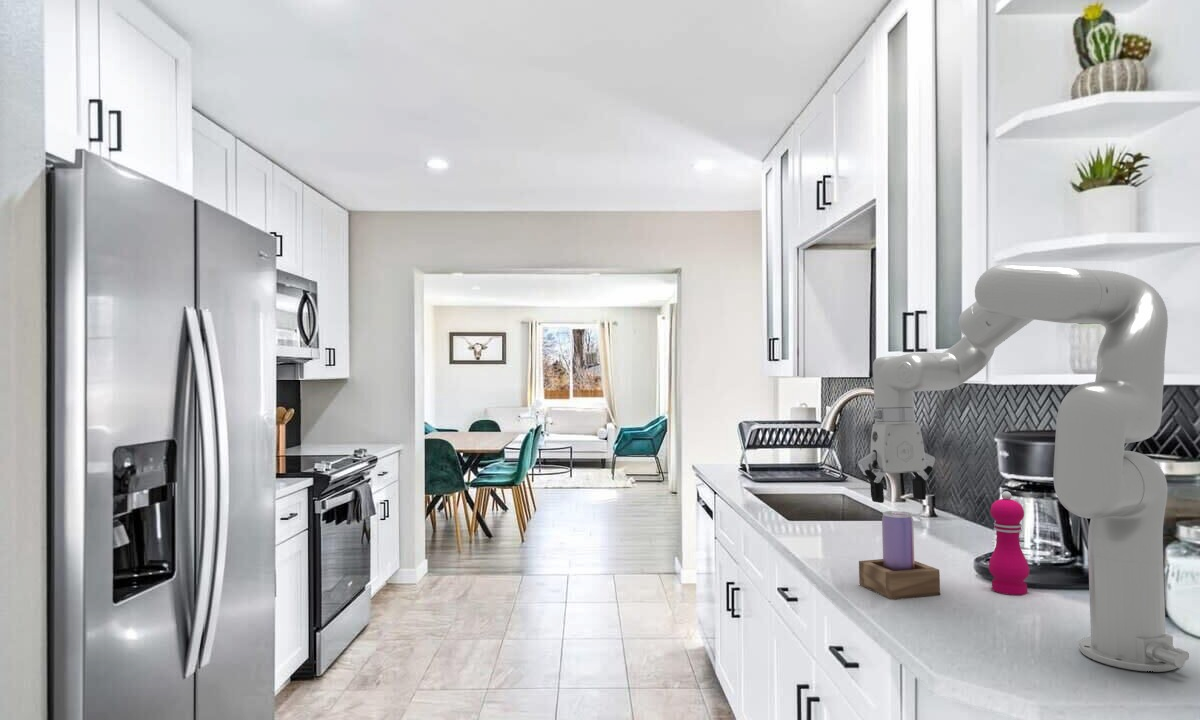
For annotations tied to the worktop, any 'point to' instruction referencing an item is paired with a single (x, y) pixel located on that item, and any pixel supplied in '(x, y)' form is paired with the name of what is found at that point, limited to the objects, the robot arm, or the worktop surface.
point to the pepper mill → (1008, 548)
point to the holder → (899, 580)
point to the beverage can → (898, 540)
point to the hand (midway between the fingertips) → (898, 500)
